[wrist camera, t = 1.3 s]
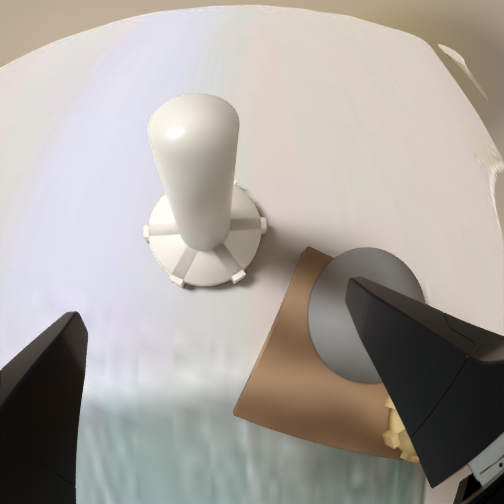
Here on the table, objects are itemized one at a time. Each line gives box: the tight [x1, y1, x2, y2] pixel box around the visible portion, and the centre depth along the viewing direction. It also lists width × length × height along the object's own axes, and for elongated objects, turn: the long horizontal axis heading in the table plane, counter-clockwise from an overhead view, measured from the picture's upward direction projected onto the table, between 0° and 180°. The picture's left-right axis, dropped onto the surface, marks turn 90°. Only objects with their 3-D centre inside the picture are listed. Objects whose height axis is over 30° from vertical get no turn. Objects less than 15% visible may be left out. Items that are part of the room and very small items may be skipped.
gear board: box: [233, 246, 427, 463], centre depth 20 cm, size 16×22×4 cm
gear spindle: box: [144, 93, 267, 288], centre depth 18 cm, size 10×9×13 cm
